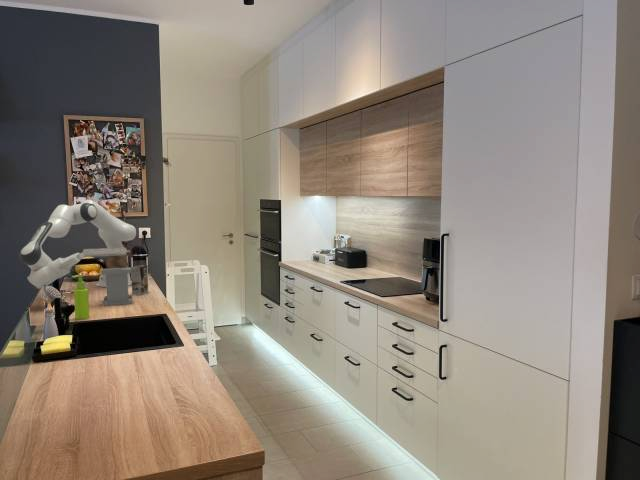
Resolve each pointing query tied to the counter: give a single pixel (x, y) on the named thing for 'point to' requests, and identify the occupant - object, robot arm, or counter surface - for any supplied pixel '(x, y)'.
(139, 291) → the coffee box
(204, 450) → the counter surface
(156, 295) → the counter surface
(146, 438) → the counter surface
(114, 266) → the walnut stand
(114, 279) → the grey stand
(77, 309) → the soap dispenser
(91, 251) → the alu channel
